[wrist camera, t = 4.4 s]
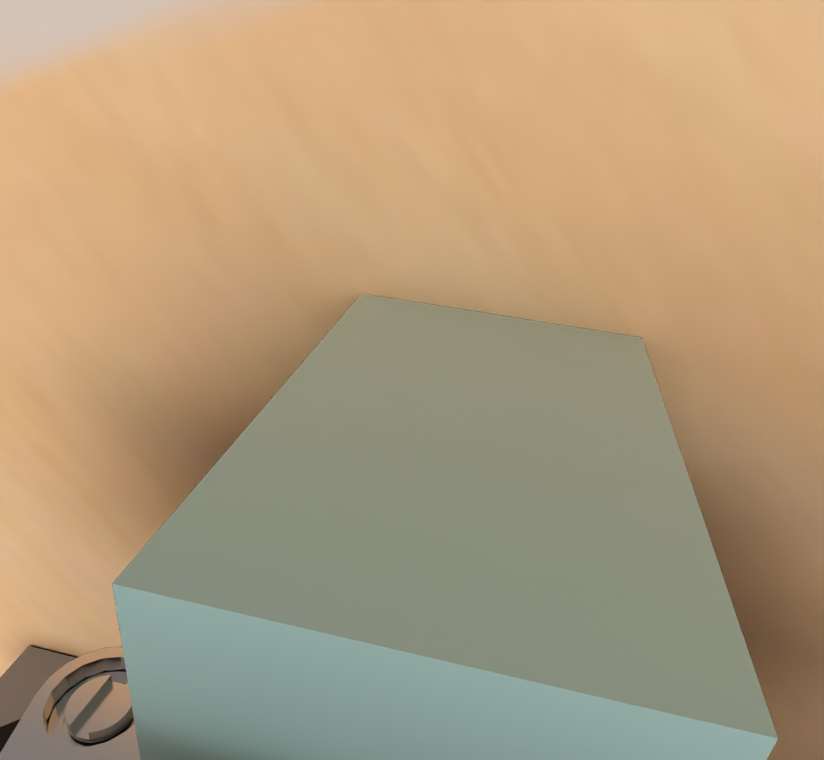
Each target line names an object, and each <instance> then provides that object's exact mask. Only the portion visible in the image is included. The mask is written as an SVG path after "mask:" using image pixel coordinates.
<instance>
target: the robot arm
mask: <svg viewBox="0 0 824 760" xmlns="http://www.w3.org/2000/svg"><path fill="white" fill-rule="evenodd" d="M0 760H140V753H139V747H138V741H137V735H136V729H135V722H134V716H133V710H132V704H131V698H130V691H129V685H128V679H127V673H126V667H125V660H124V654H123V648H122V647H110V648H103V649H100V650H96V651H93V652H89V653H86V654H84V655H82V656H80V657H78V658H76V659H74V660H72V661H70V662H68V663H67V664H65V665H64V666H63V667H61V668H60V669H59V670H58V671H57V672H55V673H54V674H53V675H52V676H50V677H49V678H48V679H47V681H46V682H45V683H44V684H43V686H42V687H41V688H40V689H39V691H38V692H37V693H36V695H35V696H34V698H33V700H32V701H31V703H30V704H29V706H28V708H27V709H26V711H25V713H24V714H23V716H22V718H21V719H19V720H16V721H14V722H11V723H9V724H6V725H4V726H1V727H0Z"/></svg>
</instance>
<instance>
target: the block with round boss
mask: <svg viewBox="0 0 824 760" xmlns="http://www.w3.org/2000/svg"><path fill="white" fill-rule="evenodd" d="M112 586H113V592H114V598H115V605H116V611H117V617H118V623H119V629H120V636H121V642H122V648H123V654H124V660H125V667H126V673H127V679H128V685H129V691H130V698H131V704H132V710H133V716H134V722H135V729H136V735H137V741H138V747H139V753H140V760H767V758H768V756H769V754H770V753H771V751H772V749H773V747H774V746H775V744H776V742H777V740H778V736H777V733H776V731H775V728H774V725H773V722H772V719H771V716H770V713H769V710H768V707H767V704H766V701H765V698H764V695H763V692H762V689H761V686H760V683H759V681H758V678H757V675H756V672H755V669H754V666H753V663H752V660H751V657H750V654H749V651H748V648H747V645H746V642H745V639H744V636H743V633H742V630H741V628H740V625H739V622H738V619H737V616H736V613H735V610H734V607H733V604H732V601H731V598H730V595H729V592H728V589H727V586H726V583H725V580H724V578H723V575H722V572H721V569H720V566H719V563H718V560H717V557H716V554H715V551H714V548H713V545H712V542H711V539H710V536H709V533H708V530H707V528H706V525H705V522H704V519H703V516H702V513H701V510H700V507H699V504H698V501H697V498H696V495H695V492H694V489H693V486H692V483H691V480H690V478H689V475H688V472H687V469H686V466H685V463H684V460H683V457H682V454H681V451H680V448H679V445H678V442H677V439H676V436H675V433H674V430H673V428H672V425H671V422H670V419H669V416H668V413H667V410H666V407H665V404H664V401H663V398H662V395H661V392H660V389H659V386H658V383H657V380H656V378H655V375H654V372H653V369H652V366H651V363H650V360H649V357H648V354H647V351H646V348H645V345H644V342H643V339H642V337H636V336H629V335H623V334H617V333H610V332H604V331H598V330H591V329H585V328H579V327H572V326H566V325H560V324H553V323H547V322H540V321H534V320H528V319H521V318H515V317H509V316H502V315H496V314H490V313H483V312H477V311H471V310H464V309H458V308H452V307H445V306H439V305H433V304H426V303H420V302H414V301H407V300H401V299H395V298H388V297H382V296H376V295H369V294H363V293H362V294H361V295H360V296H359V297H358V299H357V300H356V301H355V302H354V303H353V304H352V306H351V307H350V308H349V309H348V310H347V311H346V313H345V314H344V315H343V316H342V317H341V318H340V320H339V321H338V322H337V323H336V324H335V325H334V326H333V328H332V329H331V330H330V331H329V332H328V333H327V335H326V336H325V337H324V338H323V339H322V340H321V342H320V343H319V344H318V345H317V346H316V347H315V349H314V350H313V351H312V352H311V353H310V354H309V356H308V357H307V358H306V359H305V360H304V361H303V363H302V364H301V365H300V366H299V367H298V368H297V369H296V371H295V372H294V373H293V374H292V375H291V376H290V378H289V379H288V380H287V381H286V382H285V383H284V385H283V386H282V387H281V388H280V389H279V390H278V392H277V393H276V394H275V395H274V396H273V397H272V399H271V400H270V401H269V402H268V403H267V404H266V406H265V407H264V408H263V409H262V410H261V411H260V413H259V414H258V415H257V416H256V417H255V418H254V419H253V421H252V422H251V423H250V424H249V425H248V426H247V428H246V429H245V430H244V431H243V432H242V433H241V435H240V436H239V437H238V438H237V439H236V440H235V442H234V443H233V444H232V445H231V446H230V447H229V449H228V450H227V451H226V452H225V453H224V454H223V456H222V457H221V458H220V459H219V460H218V461H217V462H216V464H215V465H214V466H213V467H212V468H211V469H210V471H209V472H208V473H207V474H206V475H205V476H204V478H203V479H202V480H201V481H200V482H199V483H198V485H197V486H196V487H195V488H194V489H193V490H192V492H191V493H190V494H189V495H188V496H187V497H186V499H185V500H184V501H183V502H182V503H181V504H180V505H179V507H178V508H177V509H176V510H175V511H174V512H173V514H172V515H171V516H170V517H169V518H168V519H167V521H166V522H165V523H164V524H163V525H162V526H161V528H160V529H159V530H158V531H157V532H156V533H155V535H154V536H153V537H152V538H151V539H150V540H149V542H148V543H147V544H146V545H145V546H144V547H143V549H142V550H141V551H140V552H139V553H138V554H137V555H136V557H135V558H134V559H133V560H132V561H131V562H130V564H129V565H128V566H127V567H126V568H125V569H124V571H123V572H122V573H121V574H120V575H119V576H118V578H117V579H116V580H115V581H114V582H113V583H112Z"/></svg>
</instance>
